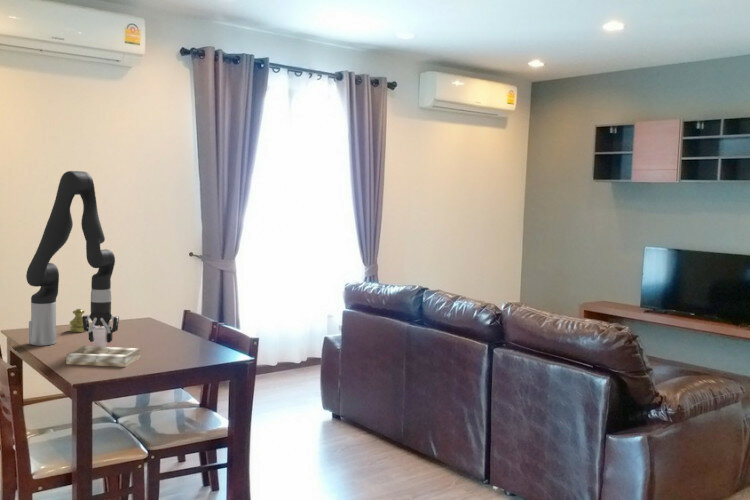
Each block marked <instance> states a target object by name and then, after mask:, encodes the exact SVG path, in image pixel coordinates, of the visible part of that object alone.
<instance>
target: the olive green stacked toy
mask: <svg viewBox="0 0 750 500" xmlns="http://www.w3.org/2000/svg"><path fill="white" fill-rule="evenodd" d="M85 312H86V311H85V310H84V309H81V308H76V309H75V310H73V311H72V314H73V315H74V317H73V319H72V320H70V321H69V332H70V333H85V332H86V331H84V328H83V319H82V317H83V314H85Z"/></svg>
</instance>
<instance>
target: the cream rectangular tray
mask: <svg viewBox="0 0 750 500" xmlns="http://www.w3.org/2000/svg"><path fill="white" fill-rule="evenodd" d="M140 358H141V348H137V347H136V348H135V347H120V346H119V347H116V346H106V347H98V346H95V345H94V346H92V345H82V346H81V347H79V348H76V349H74V350H73V351H70V352H68V353H66V356H65V359H66V360H65V361H66V363H65V364H66V365H78V366H98V367H99V366H101V367H102V366H103V367H118V368H119V367H121V368H123V367H124V368H126V367H128V366H129V365H131V364H133V363H134V362H136V361H137V360H139V359H140Z"/></svg>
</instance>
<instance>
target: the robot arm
mask: <svg viewBox="0 0 750 500" xmlns="http://www.w3.org/2000/svg"><path fill="white" fill-rule="evenodd" d="M95 188H96V187H95V184H94V180H93V177H92V175H91V174H90V173H89V172H87V171H79V170H67V171H66V172H64V173H63V174H62V175H61V177H60V180H59V183H58V188H57V191H56V195H55V200H54V202H53V206H52V209H51V212H50V216H49V217H48V219H47V221H46V226H45V228H44V230H43V232H42V233H43V234H42V236H41V239H40V242H39V244H38V246H37V248H36V250H35V253H34V255H33V257H32V259H31V261H30V263H29V265H28V267H27V270H26V275H25V277H26V281H27V284H28V285H29V286H31V287H34V288H35V287H38V288H39V287H40V288H39V290H37V291H36V293H33V294H32V295H31V297H30V320H29V321H28V345H32V346H39V347H41V346H50V345H51V346H52V345H55V344H56V343H57V297H58V295H59V286H60V285H59V282H60V273H59V269H58V266H57V265H56V264H55V263H53V262H50V261H51V259H52V258H53V256H55V255H56V253H57V252H58V251H60V250H61V248H62V247H63V246H64V245H65V244H66V243H67V241H68V239H69V237H70V235H71V233H72V232H71V231H72V229H73V224H74V223H73V222H74V221H73V218H72V213H71V205H72V204H73V203H72V202H73V200H74V197H75V196H77V195H78V196H80V198H81V201H82V205H83V206H82V207H83V209H82V216H81V223H80V224H81V229H82V233H83V236H84V240H85V243H86V244H85V249H86V251H85V252H86V254H85V255H86V256H85V257H86V261H87V263H88V265H90V267H91V268H94V269H98V270H97V272H96V273H94V274H93V275H92V276H91V283H90V284H91V286H90V287H91V291H90V314H89V315H88V314H85V315H82V319H83V328H84V331H85V332H87V333H88V340H89V342H91V343H94V337H93V331H92V328H95V327H100V326H101V327H105V329H107V332H108V334H107V344H109V343H111V342H112V341H113V333H115V332H117V331H118V329H119V323H120V322H119V321H120V317H119V316H113V314H112V291H111V288H112V286H111V284H112V281H111V279H112V275H113V272H114V267H115V265H116V257H115V256H116V255H114V252H113V251H112V250H110V249H106V248H105V249H101V244H103V243H104V242H105V240H106V239H105V238H106V237H105V234H104V231H103V227H102V223H101V220H100V217H99V211H98V205H97V203H98V202H97V197H96V191H95ZM90 320H91V322H92V323H91V324H90ZM111 321H112V324H111Z"/></svg>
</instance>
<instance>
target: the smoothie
mask: <svg viewBox="0 0 750 500" xmlns="http://www.w3.org/2000/svg"><path fill="white" fill-rule="evenodd" d="M92 331H93V337H94V341H93V345H94V346H98V347H107V344H108V343H107V334H108V332H107V329H105V327H104V326H100V325H99V326H96V327H95V328H92Z"/></svg>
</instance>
